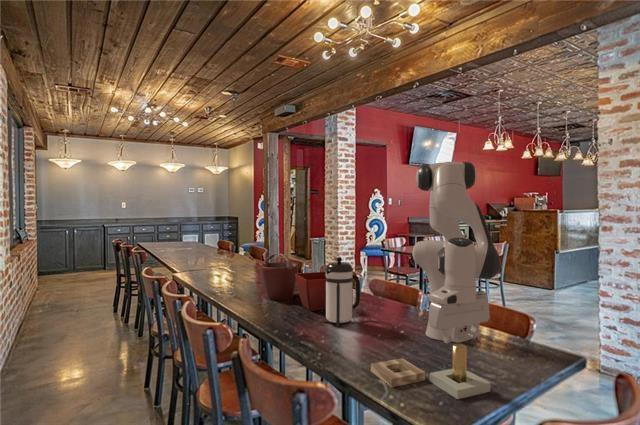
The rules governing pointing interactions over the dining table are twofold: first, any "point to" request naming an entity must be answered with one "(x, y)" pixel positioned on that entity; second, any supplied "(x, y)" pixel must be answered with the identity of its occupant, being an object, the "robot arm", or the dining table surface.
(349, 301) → the coffee press
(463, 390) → the socket block
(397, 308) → the dining table surface
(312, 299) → the plant pot
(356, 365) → the dining table surface
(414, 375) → the birch mount
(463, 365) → the pin
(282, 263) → the bucket
